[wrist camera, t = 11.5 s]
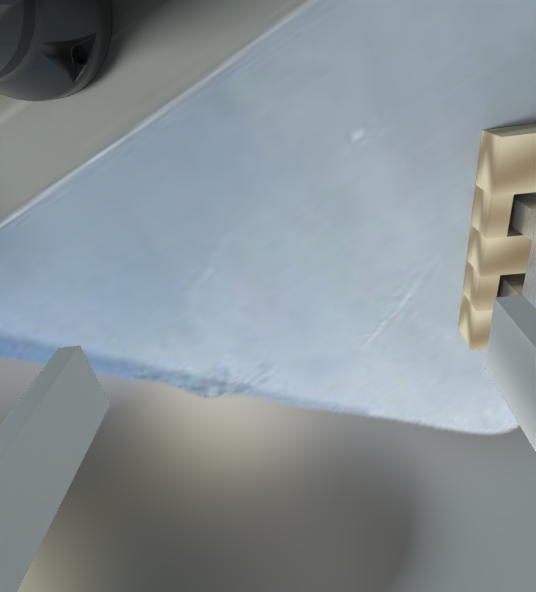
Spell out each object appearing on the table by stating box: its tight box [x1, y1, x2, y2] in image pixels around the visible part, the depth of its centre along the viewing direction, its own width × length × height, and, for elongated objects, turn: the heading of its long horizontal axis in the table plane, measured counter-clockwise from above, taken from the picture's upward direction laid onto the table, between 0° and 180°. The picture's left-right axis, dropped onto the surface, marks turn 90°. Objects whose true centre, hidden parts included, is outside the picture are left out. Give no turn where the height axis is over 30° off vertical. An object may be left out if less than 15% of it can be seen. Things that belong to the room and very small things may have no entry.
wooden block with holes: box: [458, 124, 536, 350], centre depth 40 cm, size 22×9×4 cm, turn 8°
